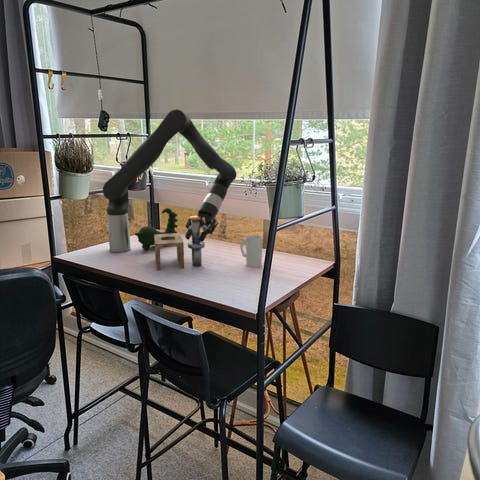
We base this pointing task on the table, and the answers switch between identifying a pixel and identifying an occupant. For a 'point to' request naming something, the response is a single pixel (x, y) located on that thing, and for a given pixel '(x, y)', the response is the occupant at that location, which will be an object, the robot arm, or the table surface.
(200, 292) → the table surface
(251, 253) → the mug
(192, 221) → the pin
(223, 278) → the table surface
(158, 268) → the wooden block with hole
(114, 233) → the robot arm
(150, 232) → the toy figurine
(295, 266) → the table surface
